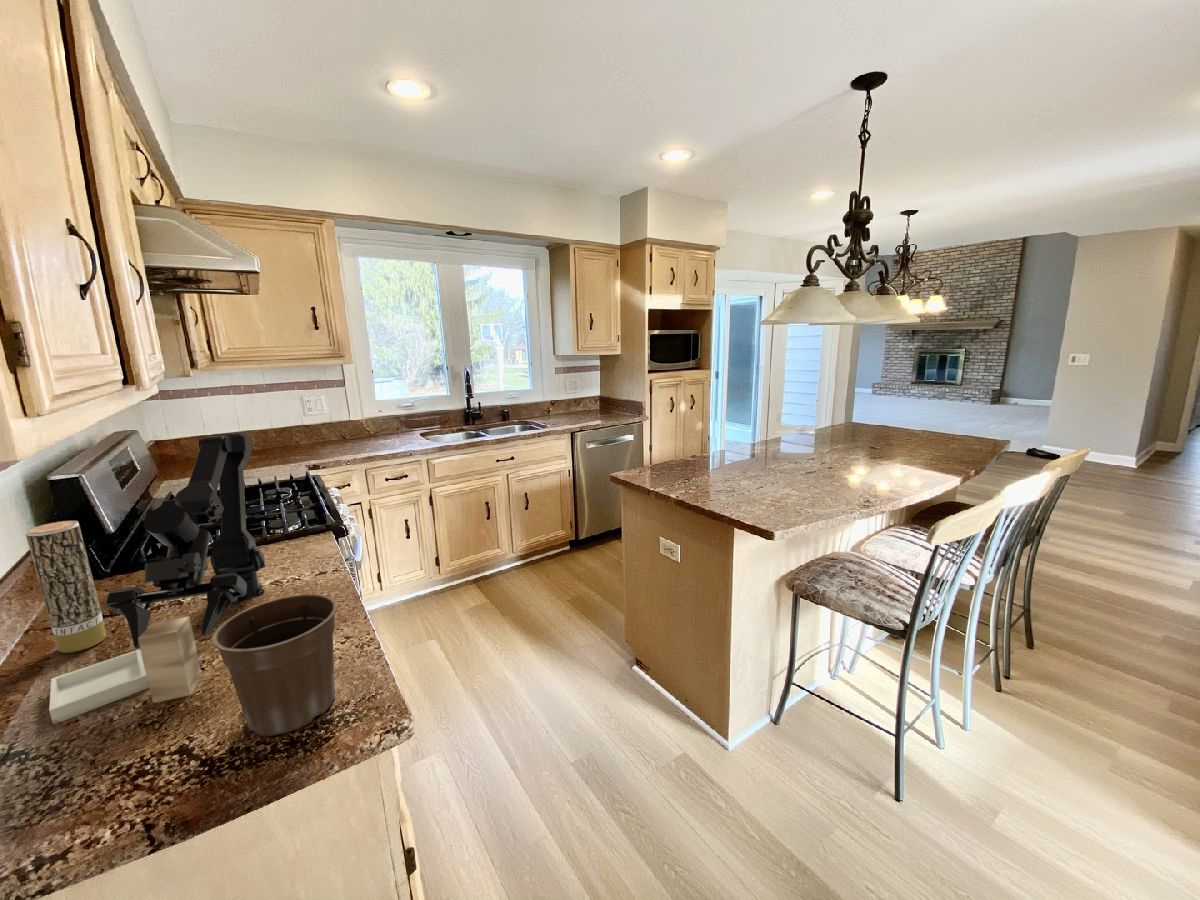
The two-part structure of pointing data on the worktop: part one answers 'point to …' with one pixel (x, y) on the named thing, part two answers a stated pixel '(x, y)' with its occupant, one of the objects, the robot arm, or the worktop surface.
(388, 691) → the worktop surface
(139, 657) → the tray
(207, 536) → the robot arm
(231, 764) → the worktop surface
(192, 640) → the beech block
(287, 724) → the plant pot
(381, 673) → the worktop surface
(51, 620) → the bark-printed cylinder
